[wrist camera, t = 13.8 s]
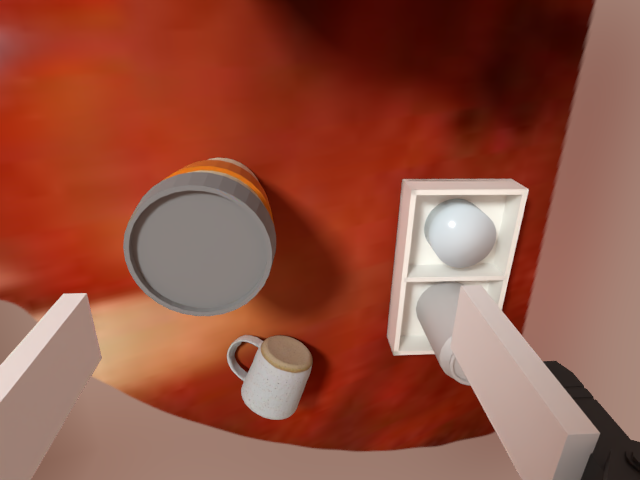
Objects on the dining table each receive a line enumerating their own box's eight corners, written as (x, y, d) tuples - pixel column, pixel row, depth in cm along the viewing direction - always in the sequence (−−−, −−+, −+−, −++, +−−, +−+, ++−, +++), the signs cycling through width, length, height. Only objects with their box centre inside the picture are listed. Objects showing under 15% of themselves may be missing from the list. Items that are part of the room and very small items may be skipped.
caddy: (402, 179, 50) (411, 189, 47) (511, 178, 51) (528, 189, 48) (386, 336, 59) (393, 355, 56) (479, 333, 60) (492, 352, 57)
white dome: (427, 198, 51) (438, 210, 47) (486, 198, 51) (501, 210, 47) (420, 252, 54) (430, 268, 50) (476, 251, 54) (490, 267, 50)
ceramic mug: (314, 338, 59) (317, 378, 52) (296, 384, 62) (296, 427, 55) (237, 319, 57) (229, 357, 50) (222, 367, 60) (212, 410, 53)
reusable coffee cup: (260, 128, 47) (250, 163, 33) (290, 232, 52) (292, 299, 38) (148, 157, 47) (92, 204, 34) (189, 257, 52) (155, 333, 39)
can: (422, 334, 59) (454, 400, 48) (406, 290, 56) (436, 350, 45) (476, 314, 58) (520, 377, 47) (463, 268, 55) (507, 325, 44)
